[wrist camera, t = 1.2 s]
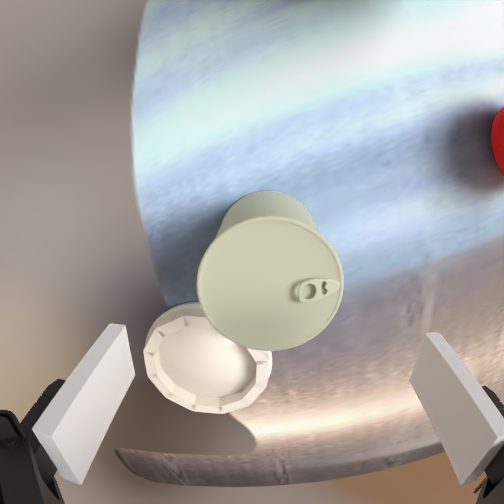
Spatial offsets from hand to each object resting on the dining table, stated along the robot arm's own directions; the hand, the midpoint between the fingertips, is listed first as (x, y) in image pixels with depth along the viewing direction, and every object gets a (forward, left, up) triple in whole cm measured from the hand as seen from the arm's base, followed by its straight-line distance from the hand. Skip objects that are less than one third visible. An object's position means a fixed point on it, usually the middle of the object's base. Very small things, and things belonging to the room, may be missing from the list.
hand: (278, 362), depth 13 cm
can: (0, 0, -19) cm, 19 cm away
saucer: (+14, -6, -18) cm, 24 cm away
